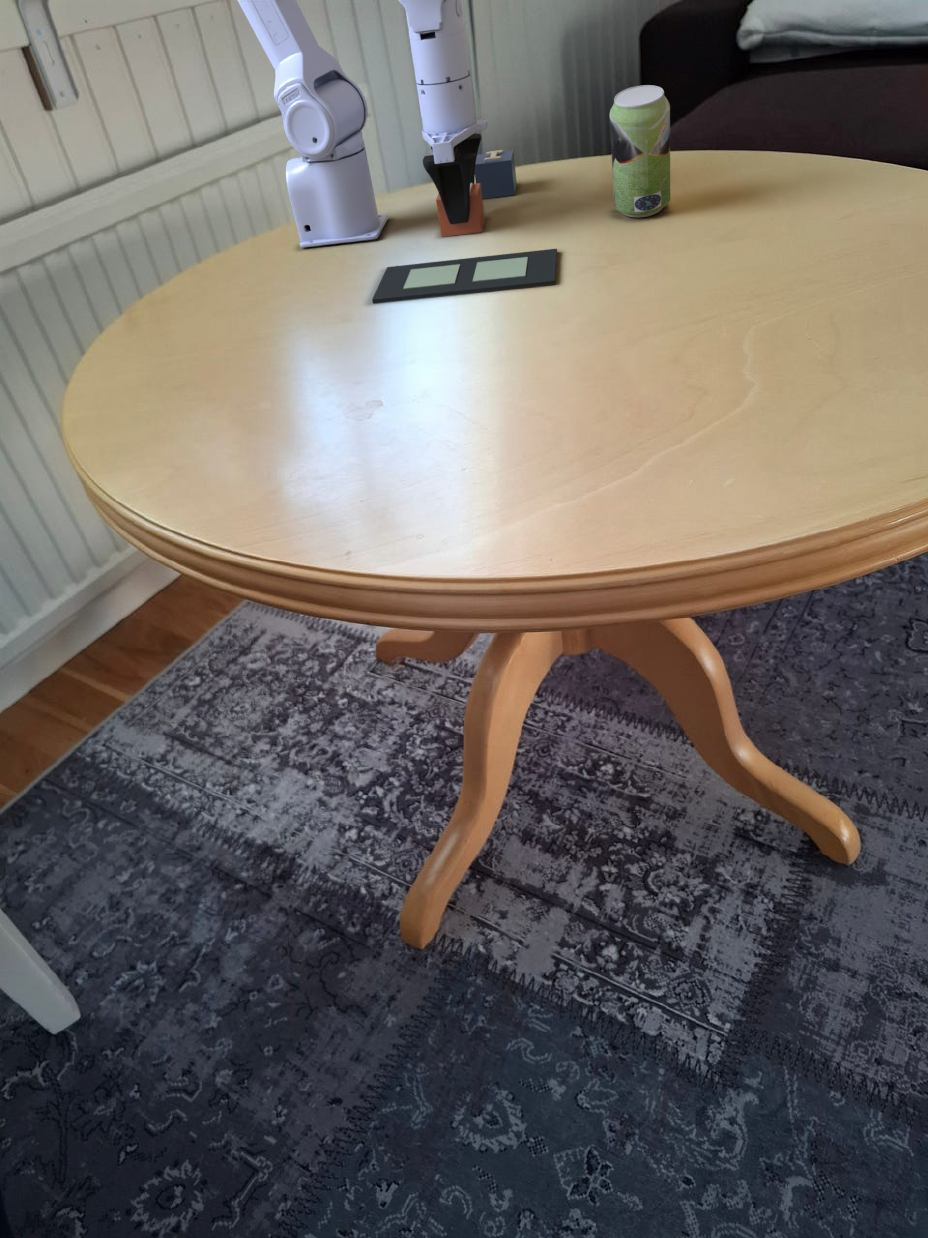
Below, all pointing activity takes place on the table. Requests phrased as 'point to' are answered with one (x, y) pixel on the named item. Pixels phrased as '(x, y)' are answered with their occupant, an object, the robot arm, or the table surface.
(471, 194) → the red letter block
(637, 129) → the beverage can
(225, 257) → the table surface
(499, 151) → the blue cube
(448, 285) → the word mat
